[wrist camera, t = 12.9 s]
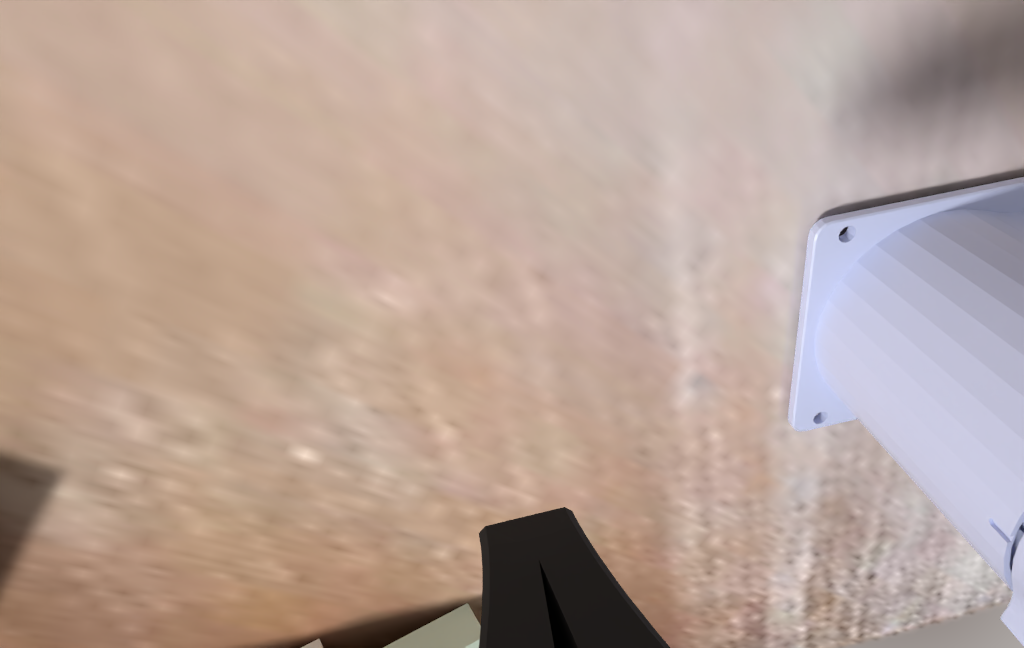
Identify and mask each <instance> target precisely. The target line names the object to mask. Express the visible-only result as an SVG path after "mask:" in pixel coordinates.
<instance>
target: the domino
mask: <svg viewBox="0 0 1024 648" xmlns="http://www.w3.org/2000/svg"><path fill="white" fill-rule="evenodd" d="M301 648H323V645H322V643H321V641H320V639H317V640H315V641H313V642H311V643H309V644H307V645H305V646H303V647H301Z"/></svg>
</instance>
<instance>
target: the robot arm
mask: <svg viewBox="0 0 1024 648" xmlns="http://www.w3.org/2000/svg"><path fill="white" fill-rule="evenodd" d="M847 226H848V229H847V231H846V232H845V233H844V234H843V235H841V236H839V234H840V232H841V230H842V229H843V228H845V227H847ZM818 413H819V414H818ZM817 414H818V415H817ZM815 415H816V416H815ZM855 419H858V420H859V421H860V422H861V423H862V424H863V425H864V426H865V428H866V429H867V430H868V431H869V432H870V433H871V434H872V435H873V437H874V438H875V439H876V440H877V441H878V442H879V443H880V444H881V445H882V447H883V448H884V449H885V450H886V451H887V452H888V453H889V454H890V455H891V457H892V458H893V459H894V460H895V461H896V462H897V463H898V464H899V466H900V467H901V468H902V469H903V470H904V471H905V472H906V473H907V474H908V476H909V477H910V478H911V479H912V480H913V481H914V482H915V483H916V484H917V486H918V487H919V488H920V489H921V490H922V491H923V492H924V493H925V495H926V496H927V497H928V498H929V499H930V500H931V501H932V502H933V503H934V505H935V506H936V507H937V508H938V509H939V510H940V511H941V512H942V513H943V515H944V516H945V517H946V518H947V519H948V520H949V521H950V522H951V524H952V525H953V526H954V527H955V528H956V529H957V530H958V531H959V532H960V534H961V535H962V536H963V537H964V538H965V539H966V540H967V541H968V542H969V544H970V545H971V546H972V547H973V548H974V549H975V550H976V551H977V553H978V554H979V555H980V556H981V557H982V558H983V559H984V560H985V561H986V563H987V564H988V565H989V566H990V567H991V568H992V569H993V570H994V571H995V573H996V574H997V575H998V576H999V577H1000V578H1001V579H1002V580H1003V581H1004V583H1005V584H1006V585H1007V586H1008V587H1009V588H1010V589H1011V590H1012V591H1013V594H1012V598H1011V600H1010V602H1009V604H1008V606H1007V608H1006V609H1005V610H1004V612H1003V613H1002V615H1001V618H1000V619H1001V620H1002V621H1003V623H1004V624H1005V625H1006V626H1007V627H1008V628H1009V630H1010V631H1011V632H1012V633H1013V634H1014V635H1015V637H1016V638H1017V639H1018V640H1019V641H1020V643H1021V644H1022V645H1023V646H1024V177H1020V178H1015V179H1011V180H1006V181H1001V182H996V183H991V184H986V185H981V186H976V187H971V188H966V189H961V190H956V191H951V192H947V193H942V194H937V195H932V196H927V197H922V198H917V199H912V200H907V201H902V202H897V203H892V204H887V205H882V206H878V207H873V208H868V209H863V210H858V211H853V212H848V213H843V214H838V215H833V216H828V217H825V218H822V219H820V220H819V221H817V222H816V223H815V224H814V225H813V226H812V228H811V229H810V232H809V235H808V243H807V252H806V261H805V270H804V279H803V288H802V296H801V305H800V314H799V323H798V332H797V340H796V349H795V358H794V367H793V376H792V385H791V393H790V402H789V411H788V422H789V423H790V424H791V426H792V427H793V428H794V429H795V430H796V431H807V430H812V429H816V428H820V427H825V426H829V425H833V424H838V423H842V422H846V421H851V420H855ZM479 537H480V543H481V551H482V566H483V594H482V618H481V629H480V640H479V648H670V647H669V646H668V644H667V643H666V642H665V641H664V640H663V639H662V637H661V636H660V635H659V634H658V633H657V632H656V630H655V629H654V628H653V627H652V625H651V624H650V623H649V622H648V620H647V619H646V618H645V617H644V615H643V614H642V613H641V612H640V610H639V609H638V608H637V607H636V605H635V604H634V603H633V602H632V600H631V599H630V598H629V597H628V595H627V594H626V593H625V591H624V590H623V589H622V587H621V586H620V585H619V583H618V582H617V581H616V579H615V578H614V576H613V575H612V574H611V572H610V571H609V569H608V568H607V567H606V565H605V564H604V562H603V561H602V559H601V558H600V557H599V555H598V554H597V552H596V551H595V549H594V548H593V546H592V544H591V543H590V541H589V540H588V538H587V537H586V535H585V533H584V532H583V530H582V528H581V527H580V525H579V523H578V521H577V520H576V518H575V516H574V514H573V512H572V511H571V510H569V509H567V508H565V507H563V508H559V509H555V510H551V511H547V512H543V513H538V514H534V515H530V516H526V517H522V518H518V519H514V520H509V521H505V522H501V523H497V524H493V525H489V526H485V527H484V528H483V529H482V531H481V532H480V533H479Z"/></svg>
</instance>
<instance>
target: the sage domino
mask: <svg viewBox="0 0 1024 648" xmlns="http://www.w3.org/2000/svg"><path fill="white" fill-rule="evenodd" d="M480 629H481V626H480V624H479V622H478V620H477V619H476V617H475V615H474V613H473V611H472V610H471V608H470V606H469V604H468V603H467V604H465V605H463V606H461V607H459V608H457V609H455V610H453V611H451V612H449V613H447V614H446V615H444V616H442V617H440V618H438V619H436V620H434V621H432V622H430V623H429V624H427V625H425V626H423V627H421V628H419V629H417V630H415V631H413V632H412V633H410V634H408V635H406V636H404V637H402V638H400V639H398V640H396V641H394V642H393V643H391V644H389V645H387V646H385V647H383V648H479V640H480Z"/></svg>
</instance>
